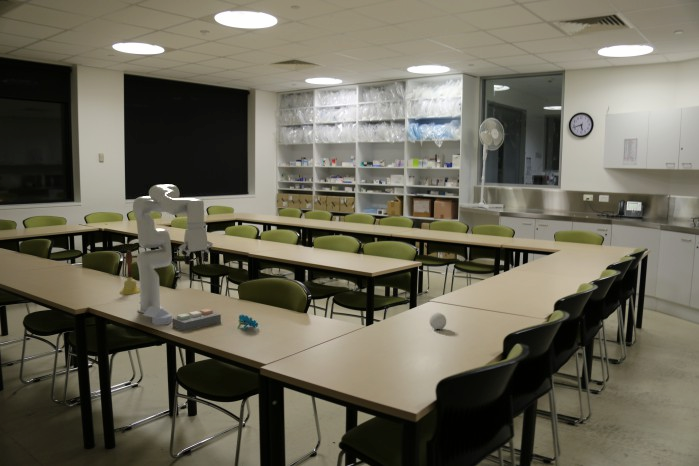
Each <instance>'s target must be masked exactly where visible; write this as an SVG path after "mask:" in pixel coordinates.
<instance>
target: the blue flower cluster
mask: <svg viewBox="0 0 699 466" xmlns="http://www.w3.org/2000/svg"><path fill="white" fill-rule="evenodd" d="M241 326H243V328H242V331H246V328H247V327H248V326H249V327H253V328H258V326H259V322H257V320H255V319H254V320H253V317H249V315H247V314H246V315H244V314H240V315H239V316H238V326H237V329H240V327H241Z"/></svg>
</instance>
